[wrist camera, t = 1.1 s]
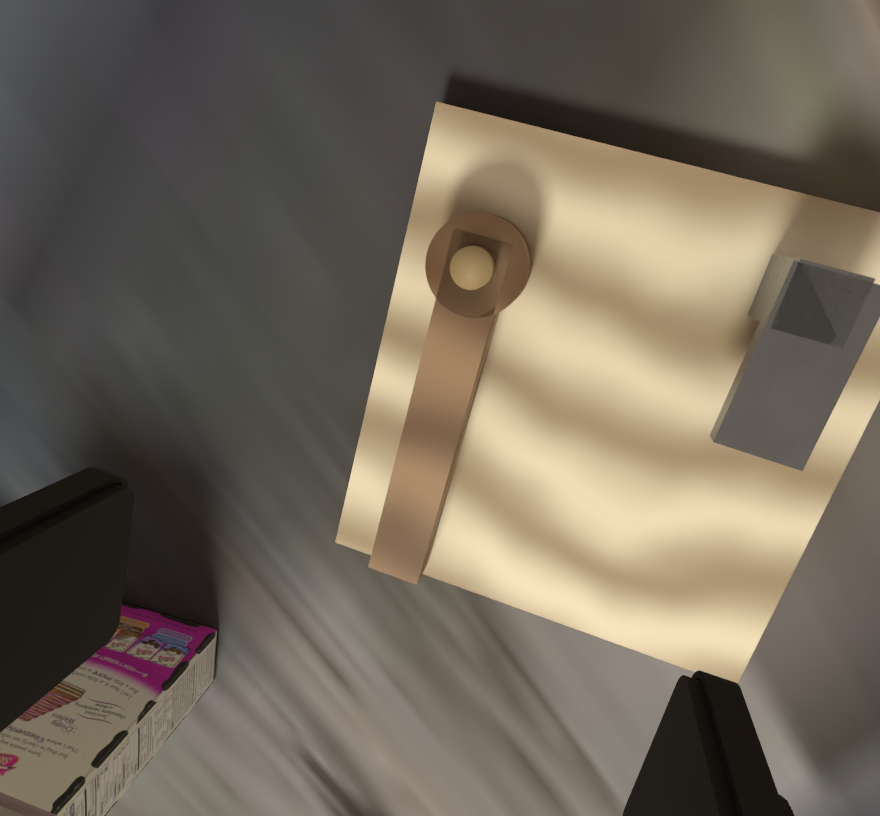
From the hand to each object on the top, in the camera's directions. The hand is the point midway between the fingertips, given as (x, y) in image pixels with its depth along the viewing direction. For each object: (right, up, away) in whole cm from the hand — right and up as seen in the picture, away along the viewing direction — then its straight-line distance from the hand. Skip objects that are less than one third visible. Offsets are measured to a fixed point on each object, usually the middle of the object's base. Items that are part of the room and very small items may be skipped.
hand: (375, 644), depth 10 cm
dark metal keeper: (+17, +7, +22) cm, 29 cm away
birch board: (+10, +4, +26) cm, 28 cm away
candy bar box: (-20, -13, +38) cm, 45 cm away
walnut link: (+1, +4, +26) cm, 26 cm away
